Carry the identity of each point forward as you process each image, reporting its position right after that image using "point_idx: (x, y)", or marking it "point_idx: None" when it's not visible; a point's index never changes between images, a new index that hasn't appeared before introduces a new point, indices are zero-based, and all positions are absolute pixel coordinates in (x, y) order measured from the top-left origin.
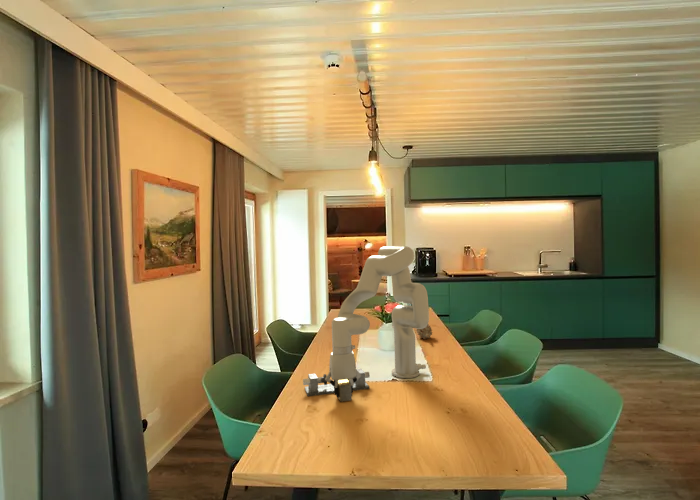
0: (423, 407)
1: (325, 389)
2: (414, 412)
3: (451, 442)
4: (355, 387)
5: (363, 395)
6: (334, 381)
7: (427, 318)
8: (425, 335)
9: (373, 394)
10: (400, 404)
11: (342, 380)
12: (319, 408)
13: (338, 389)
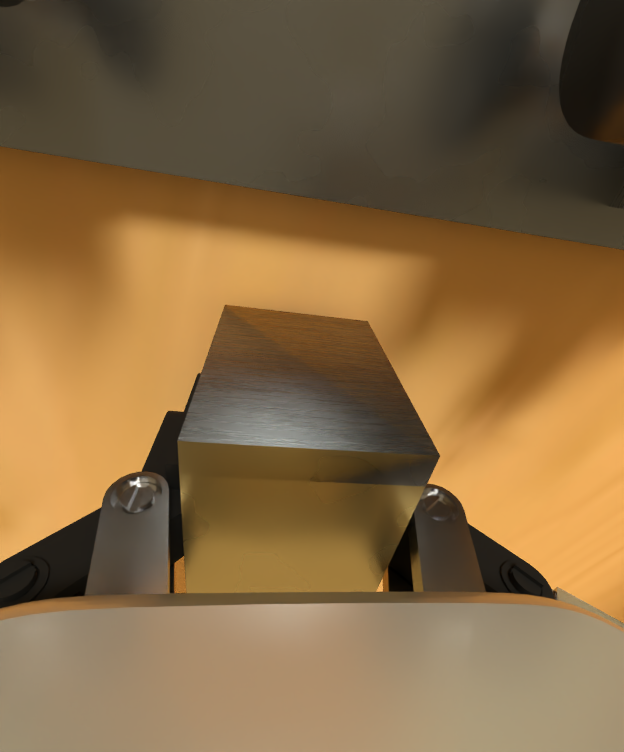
0: (608, 604)
1: (54, 21)
2: None
3: None
4: (558, 215)
5: (489, 392)
6: (113, 564)
7: None
8: None
9: (573, 404)
10: (561, 566)
11: (309, 508)
12: (9, 491)
13: None
